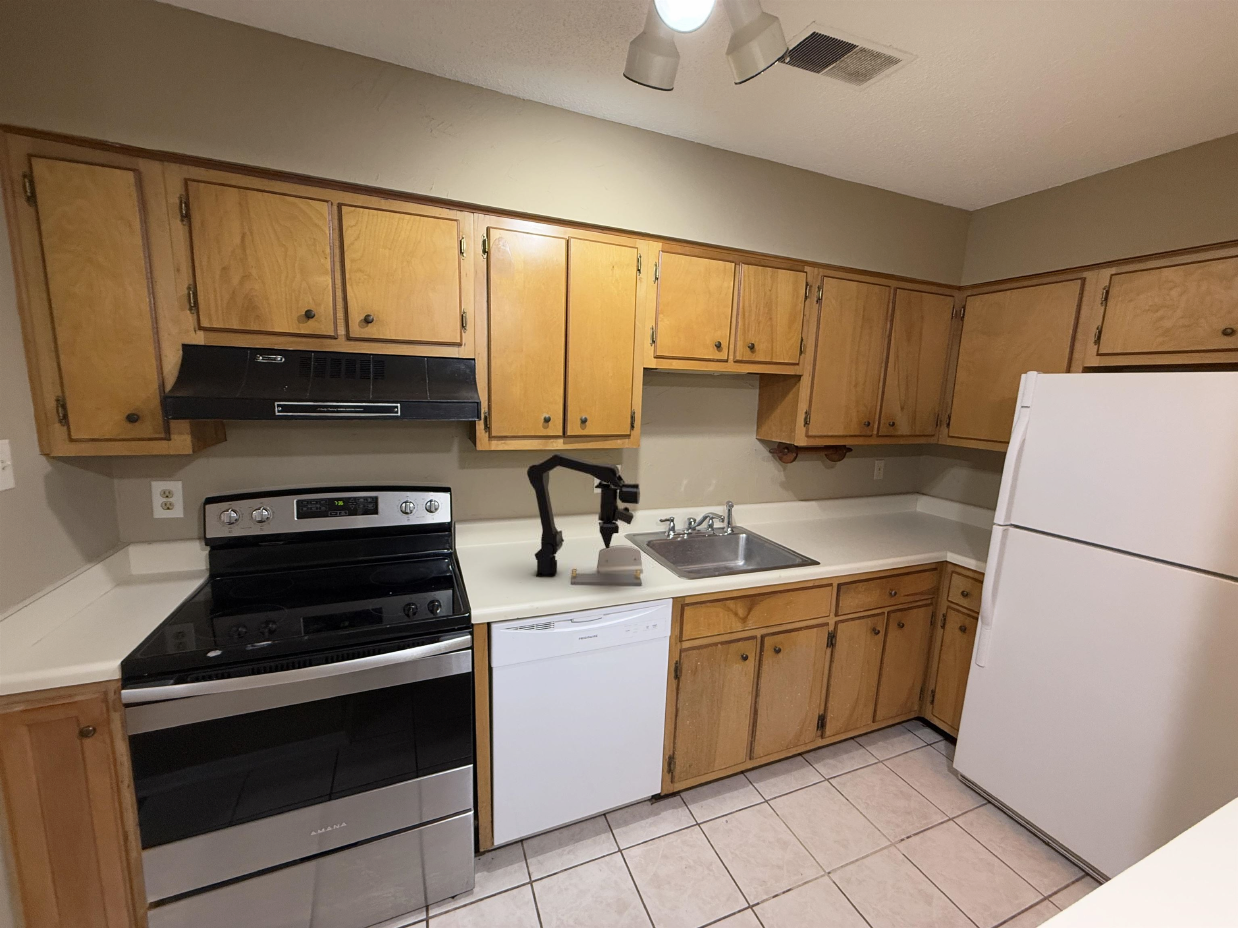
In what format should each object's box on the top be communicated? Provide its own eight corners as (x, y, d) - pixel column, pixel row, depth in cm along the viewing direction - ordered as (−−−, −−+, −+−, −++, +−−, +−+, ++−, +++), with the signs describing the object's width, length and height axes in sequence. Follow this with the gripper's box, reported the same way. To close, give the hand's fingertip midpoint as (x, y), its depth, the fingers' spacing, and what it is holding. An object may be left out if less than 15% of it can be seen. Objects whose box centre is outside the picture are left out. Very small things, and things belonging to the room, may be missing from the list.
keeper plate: (570, 585, 169) (571, 573, 168) (571, 576, 177) (571, 565, 176) (641, 585, 171) (642, 574, 170) (639, 577, 178) (639, 566, 178)
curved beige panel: (598, 575, 179) (598, 547, 178) (596, 572, 183) (596, 545, 183) (643, 573, 182) (644, 546, 182) (640, 570, 187) (640, 543, 187)
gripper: (635, 508, 161) (633, 555, 163) (630, 496, 179) (628, 538, 182) (600, 507, 160) (598, 554, 162) (599, 495, 179) (597, 538, 181)
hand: (607, 546), depth 172 cm, fingers open, 4 cm apart
